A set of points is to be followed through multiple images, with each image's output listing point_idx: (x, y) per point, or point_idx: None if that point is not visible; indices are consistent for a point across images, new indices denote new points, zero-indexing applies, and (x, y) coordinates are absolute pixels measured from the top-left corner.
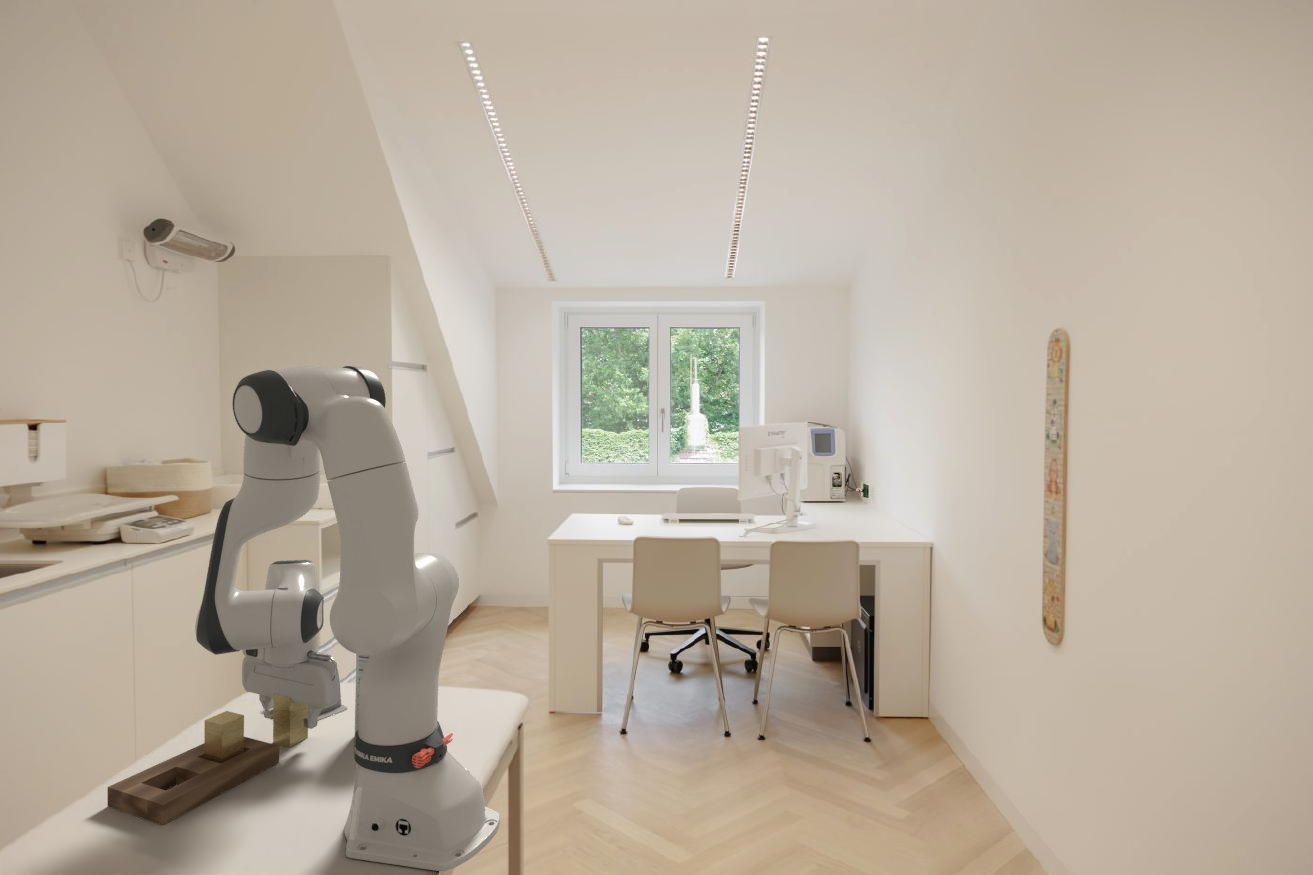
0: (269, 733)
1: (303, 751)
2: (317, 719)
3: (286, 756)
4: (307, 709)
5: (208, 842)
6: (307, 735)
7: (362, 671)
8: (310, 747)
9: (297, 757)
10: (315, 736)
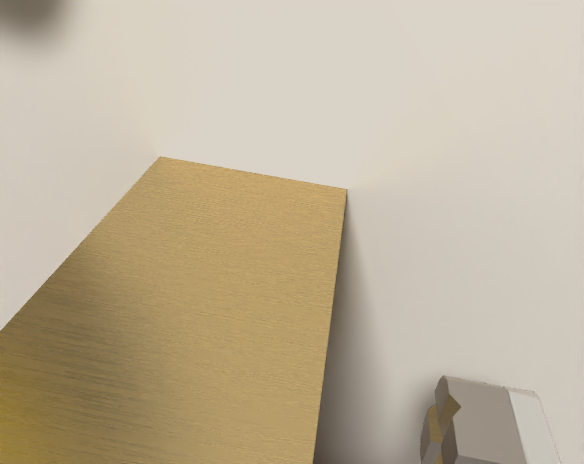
0: (8, 194)
1: (456, 368)
2: (551, 438)
3: (385, 427)
4: (321, 386)
5: None
6: (344, 201)
7: None
8: (473, 317)
9: None
10: (398, 154)
